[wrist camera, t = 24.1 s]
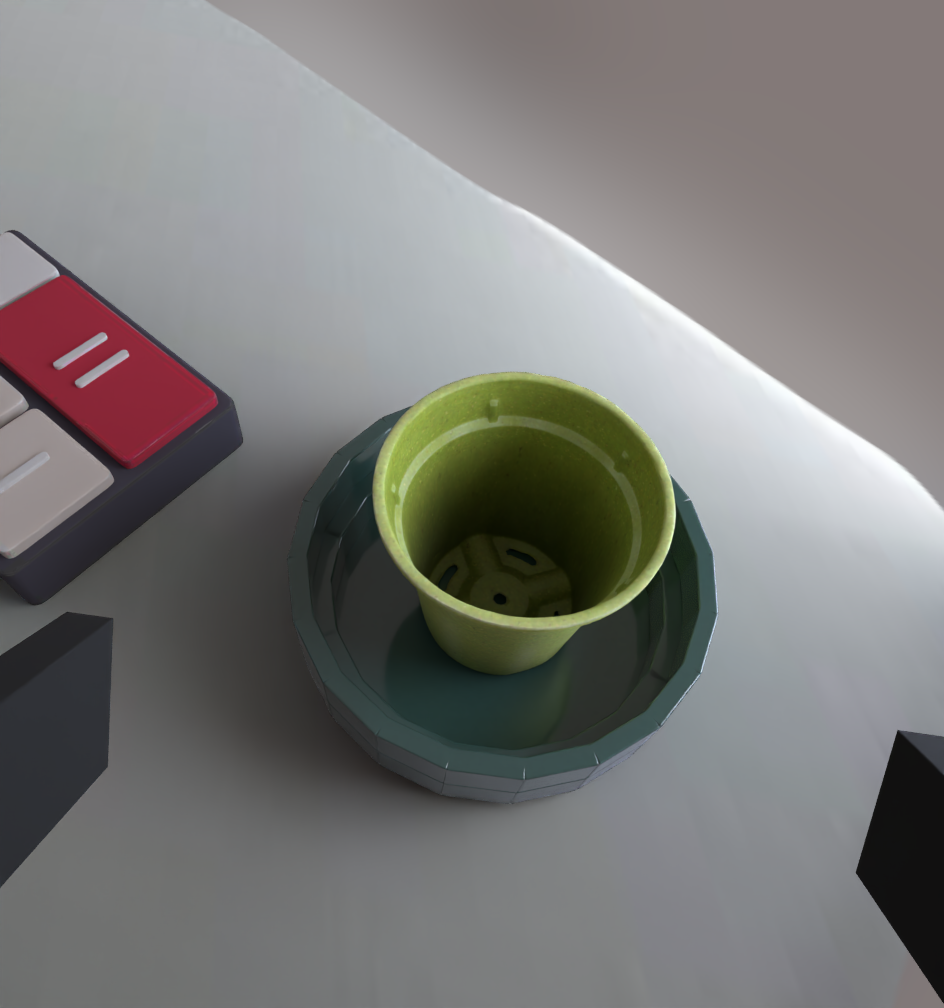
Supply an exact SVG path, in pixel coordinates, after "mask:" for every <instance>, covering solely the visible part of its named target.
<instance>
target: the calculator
mask: <svg viewBox="0 0 944 1008" xmlns="http://www.w3.org/2000/svg"><path fill="white" fill-rule="evenodd" d="M242 442H243V437H242V433H241V428H240V424H239V420H238V416H237V412H236V408H235V405H234V401H233V400H232V399H231V398H230V397H229V396H228V395H227V394H225V393H224V392H223V391H222V390H220V389H219V388H218V387H217V386H215V385H214V384H213V383H211V382H210V381H209V380H208V379H206V378H205V377H204V376H203V375H201V374H200V373H199V372H197V371H196V370H195V369H194V368H192V367H191V366H190V365H189V364H187V363H186V362H185V361H183V360H182V359H181V358H180V357H178V356H177V355H176V354H175V353H173V352H172V351H171V350H169V349H168V348H167V347H166V346H164V345H163V344H162V343H161V342H159V341H158V340H157V339H155V338H154V337H153V336H152V335H150V334H149V333H148V332H147V331H145V330H144V329H143V328H141V327H140V326H139V325H138V324H136V323H135V322H134V321H133V320H131V319H130V318H129V317H127V316H126V315H125V314H124V313H122V312H121V311H120V310H118V309H117V308H116V307H115V306H113V305H112V304H111V303H110V302H108V301H107V300H106V299H104V298H103V297H102V296H101V295H99V294H98V293H97V292H96V291H94V290H93V289H92V288H90V287H89V286H88V285H87V284H85V283H84V282H83V281H82V280H80V279H79V278H78V277H76V276H75V275H74V274H73V273H71V272H70V271H69V270H68V269H66V268H65V267H64V266H62V265H61V264H60V263H59V262H57V261H56V260H55V259H54V258H52V257H51V256H50V255H48V254H47V253H46V252H45V251H43V250H42V249H41V248H40V247H38V246H37V245H36V244H34V243H33V242H32V241H31V240H29V239H28V238H27V237H26V236H24V235H23V234H22V233H20V232H18V231H15V230H10V231H7V232H4V233H3V234H0V576H1V577H2V578H3V579H4V580H5V581H6V582H7V583H8V584H9V585H10V586H11V587H12V588H13V589H14V590H15V591H16V592H17V593H18V594H19V595H21V596H22V597H23V598H24V599H25V600H26V601H27V602H29V603H31V604H34V605H36V604H41V603H43V602H45V601H47V600H48V599H49V598H51V597H52V596H53V595H54V594H56V593H57V592H58V591H59V590H61V589H62V588H63V587H64V586H66V585H67V584H68V583H69V582H71V581H72V580H73V579H74V578H76V577H77V576H78V575H79V574H81V573H82V572H83V571H84V570H86V569H87V568H88V567H89V566H91V565H92V564H93V563H94V562H96V561H97V560H98V559H99V558H101V557H102V556H103V555H104V554H106V553H107V552H108V551H109V550H111V549H112V548H113V547H114V546H116V545H117V544H118V543H119V542H121V541H122V540H123V539H124V538H126V537H127V536H128V535H130V534H131V533H132V532H133V531H135V530H136V529H137V528H138V527H140V526H141V525H142V524H143V523H145V522H146V521H147V520H148V519H150V518H151V517H152V516H153V515H155V514H156V513H157V512H158V511H160V510H161V509H162V508H163V507H165V506H166V505H167V504H168V503H170V502H171V501H172V500H173V499H175V498H176V497H177V496H178V495H180V494H181V493H182V492H183V491H185V490H186V489H187V488H188V487H190V486H191V485H192V484H193V483H195V482H196V481H197V480H198V479H200V478H201V477H202V476H203V475H205V474H206V473H207V472H208V471H210V470H211V469H212V468H213V467H215V466H216V465H217V464H218V463H220V462H221V461H222V460H223V459H225V458H226V457H227V456H229V455H230V454H231V453H232V452H234V451H235V450H236V449H237V448H238V447H239V446H240V445H241V444H242Z"/></svg>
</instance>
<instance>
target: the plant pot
mask: <svg viewBox="0 0 944 1008" xmlns="http://www.w3.org/2000/svg"><path fill="white" fill-rule="evenodd" d="M373 509H374V514H375V520H376V524H377V527H378V530H379V533H380V536H381V539H382V541H383V543H384V546H385V548H386V549H387V551H388V553H389V555H390V557H391V558H392V560H393V561H394V563H395V564H396V566H397V567H398V568H399V570H400V571H401V572H402V574H403V575H404V576H405V577H406V578H407V579H408V580H409V581H410V583H411V584H412V585H413V586H414V587H416V589H417V592H418V596H419V600H420V604H421V607H422V611H423V615H424V618H425V621H426V623H427V626H428V628H429V630H430V632H431V634H432V636H433V637H434V639H435V641H436V642H437V643H438V645H439V646H440V647H441V648H442V649H443V650H444V651H445V652H446V653H447V654H448V655H449V656H450V657H452V658H453V659H454V660H456V661H457V662H459V663H460V664H462V665H464V666H466V667H468V668H471V669H473V670H476V671H479V672H483V673H488V674H494V675H508V674H513V673H517V672H521V671H524V670H528V669H531V668H533V667H536V666H538V665H541V664H543V663H544V662H546V661H548V660H549V659H550V658H551V657H552V656H554V655H555V654H556V653H557V652H558V650H559V649H560V648H561V647H562V646H563V645H564V644H565V643H566V642H567V641H568V640H569V638H570V637H571V636H572V635H573V634H574V633H575V632H576V631H577V630H578V629H579V628H580V627H581V626H583V625H587V624H589V623H592V622H595V621H597V620H600V619H602V618H604V617H606V616H608V615H610V614H612V613H614V612H616V611H617V610H619V609H620V608H622V607H624V606H625V605H626V604H628V603H629V602H630V601H631V600H633V599H634V598H635V597H636V596H637V595H638V594H639V593H640V592H641V591H642V590H643V589H644V588H645V587H646V586H647V585H648V583H649V582H650V581H651V580H652V578H653V577H654V576H655V574H656V573H657V571H658V570H659V568H660V567H661V565H662V563H663V561H664V559H665V557H666V555H667V553H668V550H669V548H670V544H671V541H672V537H673V533H674V528H675V517H676V510H675V499H674V492H673V487H672V481H671V478H670V475H669V472H668V470H667V467H666V465H665V462H664V460H663V458H662V456H661V454H660V453H659V451H658V449H657V448H656V446H655V444H654V443H653V441H652V440H651V438H650V437H649V436H648V435H647V434H646V433H645V432H644V430H643V429H642V428H641V427H640V426H639V425H638V424H637V423H636V422H634V421H633V420H632V419H631V418H630V417H629V416H628V415H627V414H626V413H625V412H624V411H623V410H621V409H620V408H619V407H617V406H616V405H615V404H613V403H612V402H610V401H609V400H608V399H606V398H604V397H603V396H601V395H599V394H597V393H595V392H593V391H591V390H589V389H587V388H584V387H581V386H578V385H576V384H574V383H572V382H570V381H566V380H563V379H559V378H556V377H551V376H542V375H540V374H534V373H527V372H501V373H491V374H481V375H476V376H472V377H468V378H464V379H461V380H459V381H455V382H452V383H450V384H448V385H445V386H443V387H441V388H439V389H437V390H435V391H433V392H432V393H430V394H428V395H427V396H425V397H424V398H422V399H421V400H419V401H418V402H417V403H415V404H414V405H413V406H412V407H411V408H410V409H409V410H408V411H406V412H405V413H404V414H403V416H402V417H401V418H400V419H399V420H398V422H397V423H396V424H395V425H394V427H393V428H392V430H391V431H390V433H389V435H388V437H387V438H386V440H385V441H384V444H383V446H382V448H381V450H380V453H379V456H378V459H377V462H376V466H375V472H374V478H373ZM509 549H514V550H516V551H519V552H521V553H526V554H528V555H530V556H531V557H533V558H534V559H535V560H536V565H534V566H532V565H530V564H529V563H526V562H524V561H523V560H521V559H518V558H516V557H514V556H512V555H507V553H506V551H507V550H509ZM454 565H456V566H457V568H458V570H457V571H456V572H455V574H454V575H453V576H452V577H451V579H450V581H449V583H448V585H447V589H446V591H445V592H444V591H442V590H441V589H439V588H438V583H439V581H440V579H441V578H442V576H443V574H444V573H445V571H446V570H447V569H448V568H449V567H451V566H454ZM498 593H500V594H502V595H504V596H505V597H506V600H507V601H506V603H505V604H502V605H500V604H497V603H496V602H495V601H494V600H493V599H494V595H496V594H498ZM555 611H558V614H559V616H556V617H553V616H554V612H555Z"/></svg>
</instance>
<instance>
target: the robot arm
mask: <svg viewBox="0 0 944 1008" xmlns="http://www.w3.org/2000/svg"><path fill="white" fill-rule="evenodd" d="M112 635H113V618H106V617H99V616H92V615H85V614H78V613H71V612H66V613H65V614H63V615H62V616H60V617H59V618H57V619H55V620H54V621H52V622H51V623H49V624H48V625H46V626H45V627H43V628H42V629H40V630H39V631H37V632H36V633H34V634H33V635H31V636H30V637H28V638H26V639H25V640H23V641H22V642H20V643H19V644H17V645H16V646H14V647H13V648H11V649H10V650H8V651H7V652H5V653H4V654H2V655H1V656H0V887H1V886H2V885H3V884H4V883H5V882H6V880H7V879H8V878H9V877H10V876H11V875H12V874H13V873H14V871H15V870H16V869H17V868H18V867H19V866H20V865H21V864H22V862H23V861H24V860H25V859H26V858H27V857H28V856H29V855H30V853H31V852H32V851H33V850H34V849H35V848H36V847H37V846H38V844H39V843H40V842H41V841H42V840H43V839H44V838H45V837H46V835H47V834H48V833H49V832H50V831H51V830H52V829H53V828H54V826H55V825H56V824H57V823H58V822H59V821H60V820H61V819H62V817H63V816H64V815H65V814H66V813H67V812H68V811H69V810H70V808H71V807H72V806H73V805H74V804H75V803H76V802H77V801H78V799H79V798H80V797H81V796H82V795H83V794H84V793H85V792H86V790H87V789H88V788H89V787H90V786H91V785H92V784H93V783H94V781H95V780H96V779H97V778H98V777H99V776H100V775H101V774H102V772H103V771H104V770H105V769H106V768H107V767H108V745H109V718H110V690H111V662H112ZM856 874H857V875H858V877H859V878H860V880H861V881H862V883H863V884H864V886H865V887H866V889H867V890H868V892H869V893H870V895H871V896H872V898H873V899H874V900H875V902H876V903H877V905H878V906H879V908H880V909H881V911H882V912H883V914H884V915H885V917H886V918H887V920H888V921H889V923H890V924H891V926H892V927H893V929H894V930H895V932H896V933H897V935H898V936H899V938H900V939H901V941H902V942H903V944H904V945H905V947H906V948H907V950H908V951H909V953H910V954H911V956H912V957H913V959H914V960H915V962H916V963H917V964H918V966H919V968H920V969H921V971H922V972H923V974H924V975H925V976H926V978H927V979H928V981H929V982H930V984H931V985H932V987H933V988H934V990H935V991H936V993H937V994H938V996H939V997H940V999H941V1000H942V1002H943V1003H944V737H942V736H935V735H928V734H921V733H914V732H907V731H900V730H898V731H897V734H896V737H895V741H894V744H893V748H892V751H891V754H890V758H889V761H888V765H887V768H886V771H885V775H884V778H883V782H882V785H881V788H880V792H879V795H878V799H877V802H876V805H875V809H874V812H873V816H872V819H871V822H870V826H869V829H868V833H867V836H866V839H865V843H864V846H863V850H862V853H861V856H860V860H859V863H858V867H857V870H856Z"/></svg>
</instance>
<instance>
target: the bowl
mask: <svg viewBox="0 0 944 1008" xmlns="http://www.w3.org/2000/svg"><path fill="white" fill-rule="evenodd" d="M411 407H412V406H410V407H408V408H405V409H403V410H400V411H398V412H395V413H392V414H390V415H387V416H385V417H383V418H382V419H379V420H378V421H377V422H375V423H374V424H373V425H371V426H370V427H369V428H367V429H366V430H365V431H363V432H362V433H361V434H360V435H358V436H357V437H356V438H354V439H353V440H352V441H350V442H349V443H348V444H347V445H345V446H344V447H343V448H341V449H340V450H339V451H337V453H335V454H334V456H333V457H332V459H331V460H330V461H329V463H328V464H327V466H326V467H325V469H324V470H323V472H322V473H321V474H320V476H319V477H318V479H317V480H316V482H315V483H314V485H313V486H312V487H311V489H310V490H309V492H308V493H307V495H306V496H305V498H304V499H303V502H302V505H301V509H300V512H299V516H298V520H297V524H296V527H295V531H294V535H293V538H292V542H291V546H290V550H289V553H288V558H287V565H288V575H289V586H290V597H291V607H292V618H293V623H294V626H295V629H296V633H297V636H298V639H299V642H300V646H301V649H302V652H303V655H304V658H305V662H306V664H307V666H308V668H309V670H310V672H311V675H312V677H313V679H314V681H315V683H316V685H317V687H318V689H319V691H320V693H321V696H322V698H323V700H324V702H325V704H326V706H327V708H328V710H329V712H330V714H331V716H332V717H333V719H334V720H335V721H336V722H337V723H338V724H339V725H340V726H341V727H342V728H343V729H344V730H345V731H346V732H347V733H348V734H349V735H350V736H351V737H352V738H353V739H354V740H355V741H356V742H357V743H358V744H359V745H360V746H361V747H362V748H363V749H364V750H365V751H366V752H367V753H368V754H369V755H370V756H371V757H372V758H373V759H374V760H375V761H376V762H377V763H380V765H381V766H383V767H385V768H387V769H389V770H391V771H393V772H395V773H397V774H399V775H401V776H403V777H405V778H407V779H409V780H411V781H413V782H415V783H417V784H419V785H421V786H423V787H425V788H427V789H429V790H432V791H434V792H436V793H438V794H442V795H443V796H451V797H458V798H466V799H474V800H482V801H489V802H497V803H505V804H509V803H511V804H513V803H518V802H523V801H527V800H532V799H537V798H542V797H546V796H551V795H556V794H561V793H565V792H570V791H575V790H576V789H579V788H581V787H582V786H584V785H586V784H587V783H589V782H590V781H592V780H594V779H595V778H597V777H598V776H600V775H602V774H603V773H605V772H607V771H608V770H610V769H611V768H613V767H615V766H616V765H618V764H619V763H621V762H623V761H624V760H626V759H628V758H629V757H630V756H631V755H633V754H634V753H635V752H636V751H637V750H638V749H639V748H640V747H641V746H642V745H643V744H644V743H645V742H646V741H647V740H648V739H649V738H650V737H651V736H652V735H653V734H654V733H655V732H656V731H657V730H658V729H659V728H660V727H662V725H663V724H664V723H665V721H666V720H667V719H668V717H669V716H670V715H671V714H672V712H673V711H674V710H675V708H676V707H677V706H678V704H679V703H680V702H681V701H682V699H683V698H684V697H685V695H686V694H687V693H688V691H689V690H690V689H691V687H692V686H693V685H694V684H695V682H696V681H697V680H698V678H699V677H700V674H701V673H702V670H703V666H704V663H705V659H706V656H707V653H708V649H709V646H710V642H711V639H712V635H713V632H714V628H715V625H716V622H717V618H718V615H717V614H718V605H717V592H716V578H715V565H714V555H713V551H712V549H711V546H710V544H709V541H708V539H707V537H706V534H705V532H704V530H703V527H702V525H701V522H700V520H699V518H698V515H697V513H696V511H695V508H694V506H693V503H692V501H691V500H690V498H689V497H688V496H687V494H686V493H685V492H684V491H683V490H682V488H681V487H680V486H679V485H678V484H677V482H676V481H675V480H674V479H673V477H672V476H671V475H670V474H669V475H670V478H671V481H672V487H673V492H674V499H675V510H676V517H675V528H674V533H673V537H672V541H671V544H670V548H669V550H668V553H667V555H666V557H665V559H664V561H663V563H662V565H661V567H660V568H659V570H658V571H657V573H656V574H655V576H654V577H653V578H652V580H651V581H650V582H649V583H648V585H647V586H646V587H645V588H644V589H643V590H642V591H641V592H640V593H639V594H638V595H637V596H636V597H635V598H634V599H633V600H631V601H630V602H629V603H628V604H626V605H625V606H624V607H622V608H620V609H619V610H617V611H616V612H614V613H612V614H610V615H608V616H606V617H604V618H602V619H600V620H597V621H595V622H592V623H589V624H587V625H583V626H581V627H580V628H579V629H578V630H577V631H576V632H575V633H574V634H573V635H572V636H571V637H570V638H569V640H568V641H567V642H566V643H565V644H564V645H563V646H562V647H561V648H560V649H559V650H558V652H557V653H556V654H555V655H554V656H552V657H551V658H550V659H549V660H548V661H546V662H544V663H543V664H541V665H538V666H536V667H533V668H531V669H528V670H524V671H521V672H517V673H513V674H508V675H494V674H488V673H483V672H479V671H476V670H473V669H471V668H468V667H466V666H464V665H462V664H460V663H459V662H457V661H456V660H454V659H453V658H452V657H450V656H449V655H448V654H447V653H446V652H445V651H444V650H443V649H442V648H441V647H440V646H439V645H438V643H437V642H436V641H435V639H434V637H433V636H432V634H431V632H430V630H429V628H428V626H427V623H426V621H425V618H424V615H423V611H422V607H421V604H420V600H419V596H418V592H417V589H416V587H414V586H413V585H412V584H411V583H410V581H409V580H408V579H407V578H406V577H405V576H404V575H403V574H402V572H401V571H400V570H399V568H398V567H397V566H396V564H395V563H394V561H393V560H392V558H391V557H390V555H389V553H388V551H387V549H386V548H385V546H384V543H383V541H382V539H381V536H380V533H379V530H378V527H377V524H376V520H375V514H374V509H373V478H374V472H375V466H376V462H377V459H378V456H379V453H380V450H381V448H382V446H383V444H384V441H385V440H386V438H387V437H388V435H389V433H390V431H391V430H392V428H393V427H394V425H395V424H396V423H397V422H398V420H399V419H400V418H401V417H402V416H403V414H404V413H405V412H406V411H408V410H409V409H410V408H411ZM506 553H507V555H512V556H514V557H516V558H518V559H521V560H523V561H524V562H526V563H529V564H530V565H532V566H534V565H536V560H535V559H534V558H533V557H531V556H530V555H528V554H526V553H521V552H519V551H516V550H514V549H509V550H507V551H506ZM457 570H458V568H457V566H456V565H454V566H451V567H449V568H448V569H447V570H446V571H445V573H444V574H443V576H442V578H441V579H440V581H439V583H438V588H439V589H441V590H442V591H444V592H445V591H446V589H447V585H448V583H449V581H450V579H451V577H452V576H453V575H454V574H455V572H456V571H457ZM493 600H494V601H495V602H496V603H497V604H500V605H502V604H505V603H506V601H507V600H506V597H505V596H504V595H502V594H500V593H498V594H496V595H494V599H493ZM556 616H559V614H558V611H555V612H554V616H553V617H556Z"/></svg>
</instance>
